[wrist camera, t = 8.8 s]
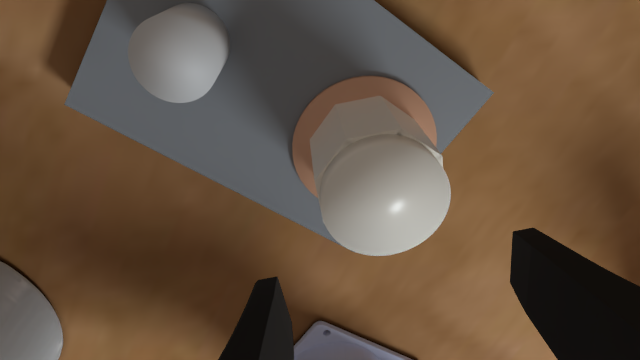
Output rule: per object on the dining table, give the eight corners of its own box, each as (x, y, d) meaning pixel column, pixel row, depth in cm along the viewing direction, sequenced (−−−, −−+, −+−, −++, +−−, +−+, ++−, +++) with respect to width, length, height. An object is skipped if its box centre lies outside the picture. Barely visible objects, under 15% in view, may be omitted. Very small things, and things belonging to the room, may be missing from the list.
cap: (412, 88, 19) (450, 130, 14) (419, 183, 21) (453, 244, 17) (303, 110, 19) (308, 158, 14) (322, 202, 21) (331, 266, 17)
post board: (480, 83, 21) (532, 119, 16) (351, 236, 25) (365, 297, 20) (181, -147, 15) (138, -186, 11) (79, 94, 19) (19, 135, 15)
